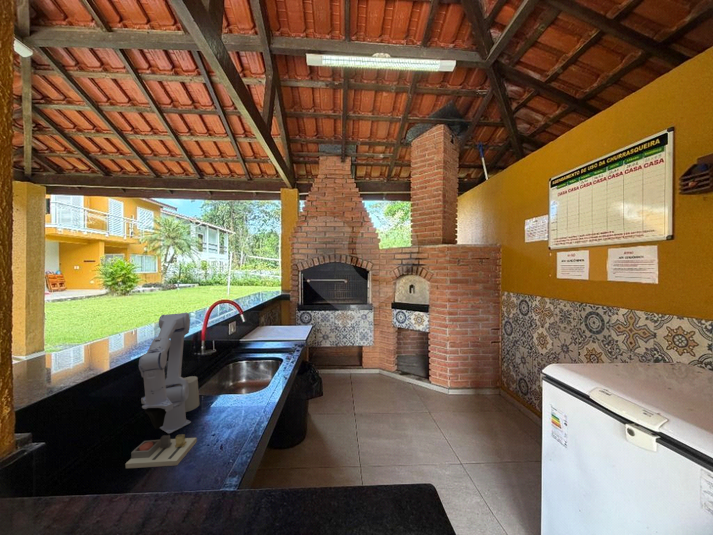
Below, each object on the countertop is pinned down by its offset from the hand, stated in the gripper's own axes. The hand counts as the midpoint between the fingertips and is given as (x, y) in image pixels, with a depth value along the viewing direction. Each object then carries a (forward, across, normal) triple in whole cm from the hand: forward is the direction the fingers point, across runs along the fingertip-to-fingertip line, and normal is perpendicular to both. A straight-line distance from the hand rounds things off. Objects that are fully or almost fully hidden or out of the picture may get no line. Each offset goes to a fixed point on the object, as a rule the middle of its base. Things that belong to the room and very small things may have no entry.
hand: (158, 427), depth 93 cm
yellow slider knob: (+6, +6, +3) cm, 10 cm away
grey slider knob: (+7, +2, +1) cm, 7 cm away
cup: (+9, -19, +22) cm, 30 cm away
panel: (+8, +3, -1) cm, 9 cm away
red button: (+7, -2, -3) cm, 8 cm away
